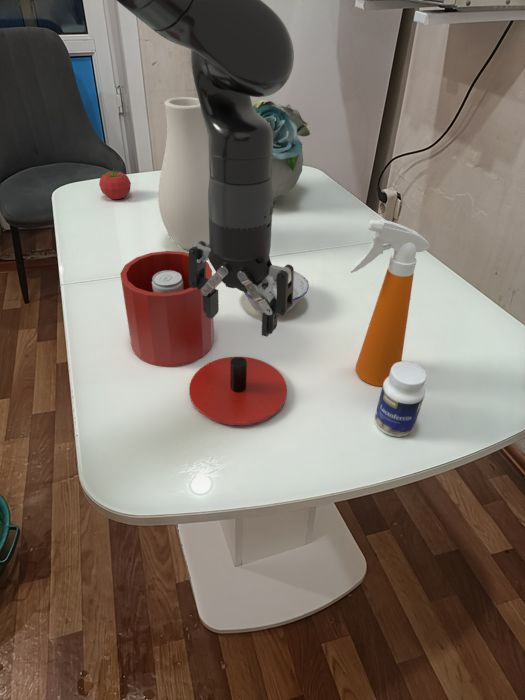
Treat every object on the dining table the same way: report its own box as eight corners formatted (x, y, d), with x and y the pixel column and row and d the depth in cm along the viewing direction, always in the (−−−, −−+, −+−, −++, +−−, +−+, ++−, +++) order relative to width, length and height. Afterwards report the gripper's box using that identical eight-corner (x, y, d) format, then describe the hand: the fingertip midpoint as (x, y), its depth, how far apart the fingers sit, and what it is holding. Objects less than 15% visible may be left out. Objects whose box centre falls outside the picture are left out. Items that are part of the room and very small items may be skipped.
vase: (151, 242, 116) (135, 98, 97) (200, 226, 123) (194, 90, 105) (185, 266, 108) (175, 114, 89) (236, 247, 115) (236, 104, 97)
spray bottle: (329, 359, 85) (352, 209, 69) (392, 358, 86) (429, 209, 70) (337, 388, 80) (364, 232, 63) (404, 386, 81) (448, 232, 64)
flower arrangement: (319, 193, 143) (329, 98, 128) (283, 226, 125) (291, 120, 110) (240, 176, 151) (241, 85, 136) (196, 205, 133) (192, 104, 118)
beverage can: (152, 342, 86) (145, 281, 79) (167, 327, 90) (161, 267, 82) (177, 350, 85) (172, 288, 77) (191, 334, 88) (188, 274, 81)
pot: (184, 376, 80) (179, 305, 72) (114, 350, 85) (101, 280, 77) (227, 331, 90) (227, 263, 82) (162, 310, 95) (156, 243, 86)
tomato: (119, 205, 131) (115, 176, 126) (95, 199, 134) (90, 170, 129) (138, 195, 137) (134, 166, 132) (114, 189, 139) (110, 161, 135)
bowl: (268, 331, 91) (269, 308, 88) (225, 299, 98) (225, 277, 95) (320, 307, 97) (323, 285, 94) (276, 279, 105) (278, 258, 102)
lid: (260, 442, 70) (261, 411, 67) (170, 406, 75) (167, 375, 71) (301, 379, 81) (304, 349, 77) (220, 351, 86) (219, 321, 82)
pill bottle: (370, 431, 73) (383, 379, 67) (378, 405, 77) (391, 354, 71) (410, 443, 71) (427, 391, 65) (416, 416, 76) (433, 364, 69)
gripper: (171, 210, 60) (180, 323, 70) (282, 238, 55) (274, 355, 65) (205, 190, 65) (209, 297, 75) (308, 213, 60) (297, 325, 70)
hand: (239, 324), depth 70 cm, fingers open, 8 cm apart
